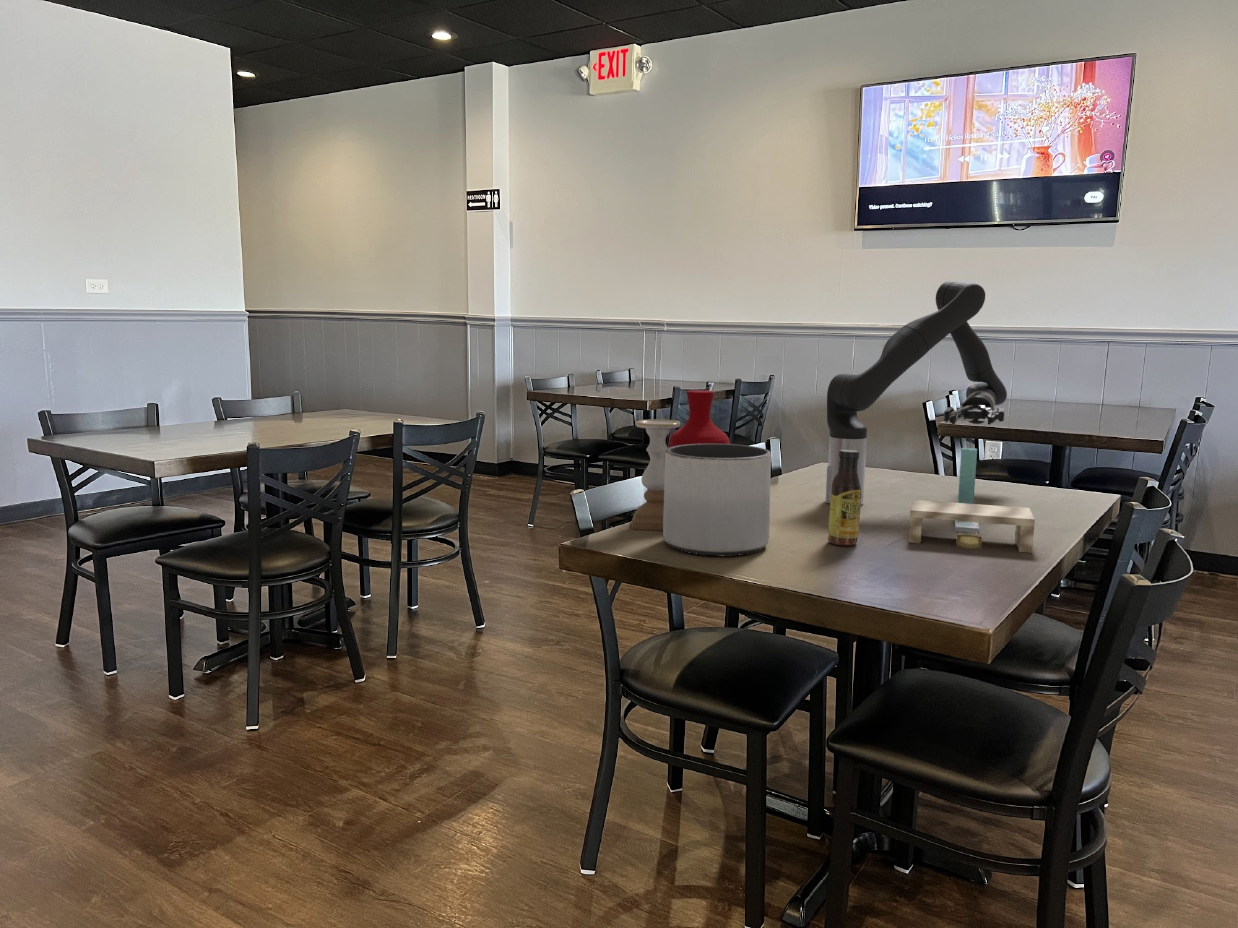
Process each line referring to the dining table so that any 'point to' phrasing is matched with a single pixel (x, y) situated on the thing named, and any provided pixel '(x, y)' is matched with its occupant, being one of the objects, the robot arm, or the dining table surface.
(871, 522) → the dining table surface
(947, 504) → the plinth shelf
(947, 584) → the dining table surface
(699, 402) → the vase
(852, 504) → the sauce bottle
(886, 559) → the dining table surface
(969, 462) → the bar
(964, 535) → the block
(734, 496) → the planter
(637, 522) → the candle holder
